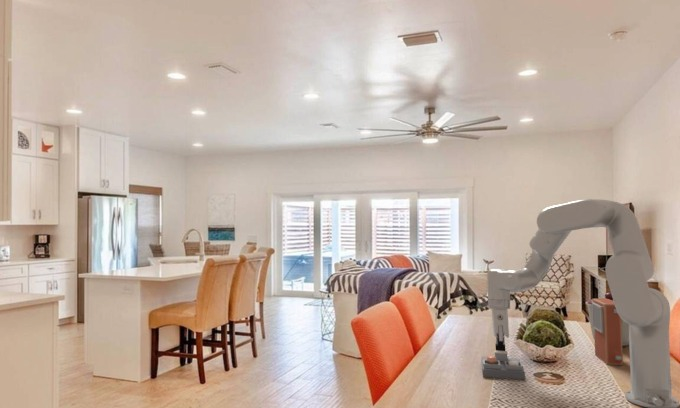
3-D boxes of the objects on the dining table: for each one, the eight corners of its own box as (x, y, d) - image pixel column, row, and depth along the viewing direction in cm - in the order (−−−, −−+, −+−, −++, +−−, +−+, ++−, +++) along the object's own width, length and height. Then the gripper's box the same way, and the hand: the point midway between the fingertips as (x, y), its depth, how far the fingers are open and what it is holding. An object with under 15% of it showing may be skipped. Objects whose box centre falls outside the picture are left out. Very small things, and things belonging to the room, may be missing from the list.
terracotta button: (496, 363, 156) (496, 358, 156) (486, 362, 157) (486, 358, 157) (496, 360, 159) (496, 356, 159) (486, 360, 160) (486, 355, 160)
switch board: (524, 379, 151) (524, 367, 152) (483, 376, 155) (482, 365, 155) (519, 366, 166) (519, 355, 166) (481, 363, 169) (481, 353, 169)
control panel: (611, 354, 178) (626, 366, 164) (591, 354, 180) (605, 365, 165) (608, 298, 180) (624, 304, 165) (589, 297, 181) (602, 304, 166)
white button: (519, 368, 154) (519, 363, 154) (508, 367, 155) (508, 362, 155) (518, 365, 157) (518, 360, 157) (508, 364, 158) (508, 360, 158)
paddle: (507, 361, 162) (507, 352, 162) (495, 361, 163) (494, 351, 164) (507, 360, 164) (506, 350, 164) (494, 359, 165) (494, 350, 166)
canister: (628, 339, 201) (626, 290, 202) (644, 350, 184) (642, 296, 185) (582, 337, 206) (580, 289, 207) (593, 348, 188) (591, 295, 189)
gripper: (511, 307, 159) (513, 362, 159) (508, 300, 174) (510, 350, 173) (488, 306, 161) (490, 360, 161) (487, 300, 176) (488, 349, 175)
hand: (500, 355), depth 167 cm, fingers closed
